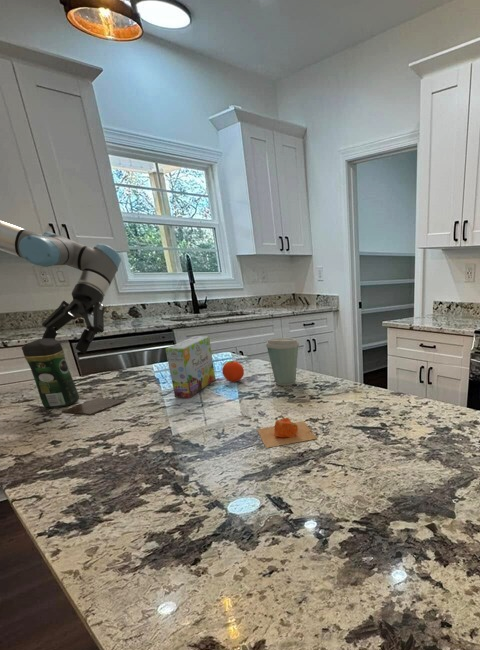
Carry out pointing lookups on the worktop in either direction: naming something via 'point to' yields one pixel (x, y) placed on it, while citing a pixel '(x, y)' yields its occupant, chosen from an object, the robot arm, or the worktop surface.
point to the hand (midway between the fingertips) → (61, 350)
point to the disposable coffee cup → (283, 359)
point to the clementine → (233, 371)
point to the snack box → (190, 365)
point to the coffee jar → (51, 372)
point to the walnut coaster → (93, 406)
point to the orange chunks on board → (285, 433)
